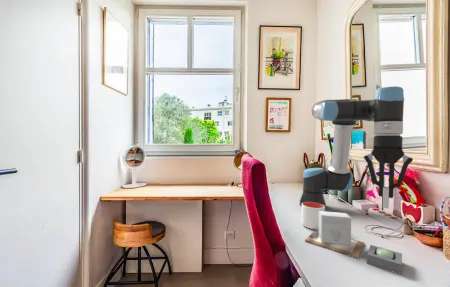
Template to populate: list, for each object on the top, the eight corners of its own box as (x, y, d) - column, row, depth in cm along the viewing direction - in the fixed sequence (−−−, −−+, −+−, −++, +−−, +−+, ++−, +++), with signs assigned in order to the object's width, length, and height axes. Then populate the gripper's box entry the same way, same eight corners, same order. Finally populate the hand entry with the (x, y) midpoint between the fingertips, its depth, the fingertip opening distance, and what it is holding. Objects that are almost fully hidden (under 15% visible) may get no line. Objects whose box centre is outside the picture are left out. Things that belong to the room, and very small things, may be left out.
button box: (370, 253, 76) (370, 244, 76) (401, 262, 70) (402, 253, 70) (366, 263, 69) (367, 254, 69) (401, 274, 64) (401, 264, 64)
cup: (326, 231, 93) (327, 209, 93) (303, 229, 95) (303, 207, 95) (321, 223, 103) (321, 202, 103) (299, 221, 105) (300, 201, 105)
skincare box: (346, 238, 85) (346, 212, 85) (351, 246, 79) (352, 218, 79) (317, 235, 88) (318, 209, 88) (320, 242, 81) (321, 215, 81)
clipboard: (304, 241, 84) (304, 238, 84) (316, 230, 94) (316, 228, 94) (358, 258, 72) (358, 255, 72) (364, 244, 83) (364, 241, 83)
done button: (377, 256, 73) (377, 246, 73) (393, 261, 70) (393, 251, 70) (375, 261, 69) (375, 251, 69) (392, 267, 67) (393, 256, 66)
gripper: (362, 135, 71) (360, 205, 71) (414, 134, 62) (412, 214, 63) (365, 135, 77) (363, 200, 77) (414, 135, 68) (411, 208, 68)
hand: (385, 207), depth 70 cm, fingers closed
